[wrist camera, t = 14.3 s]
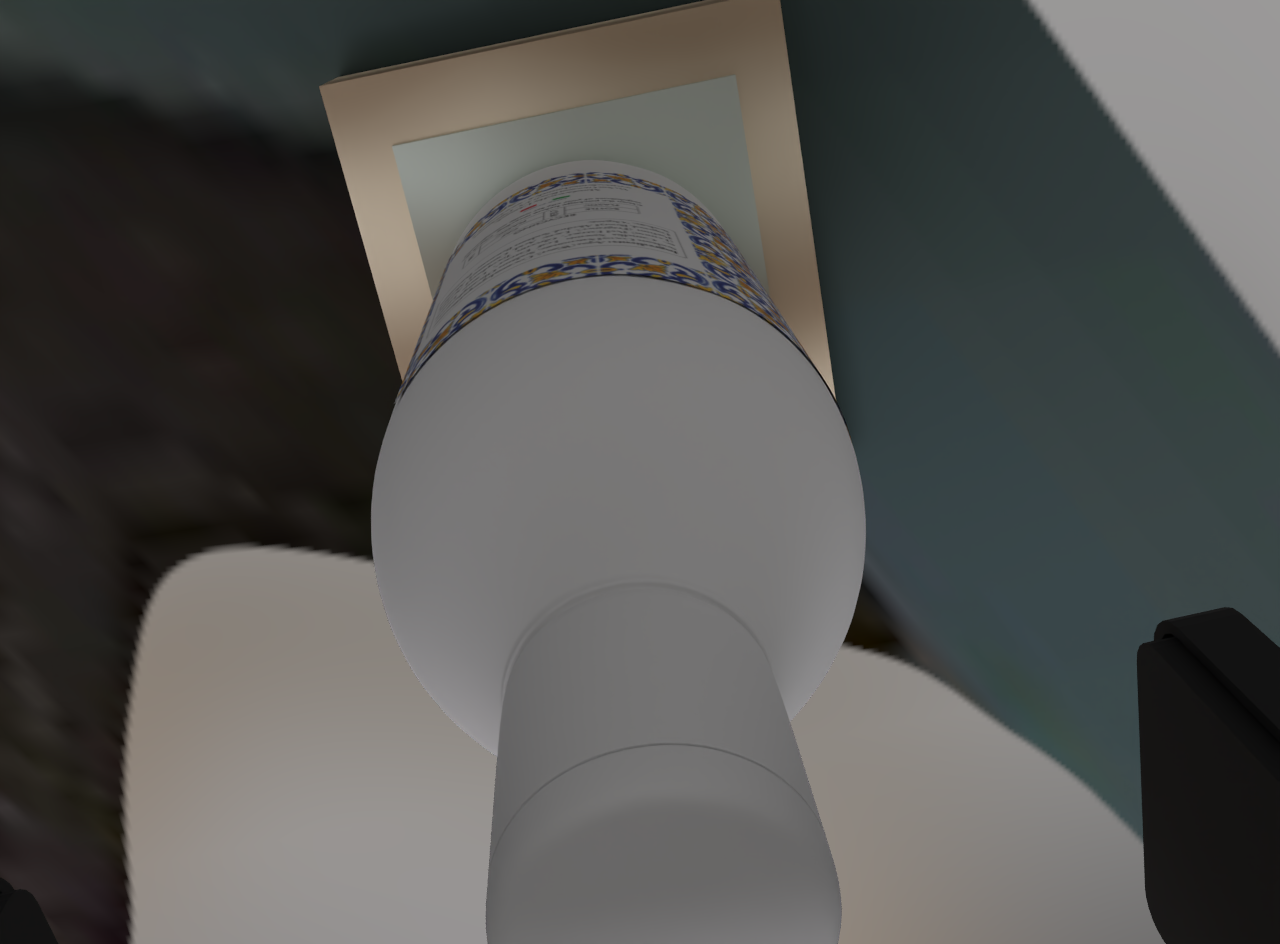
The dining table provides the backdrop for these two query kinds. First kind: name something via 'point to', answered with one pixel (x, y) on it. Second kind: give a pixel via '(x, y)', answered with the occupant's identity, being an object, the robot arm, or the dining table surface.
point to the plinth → (584, 144)
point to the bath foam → (624, 563)
